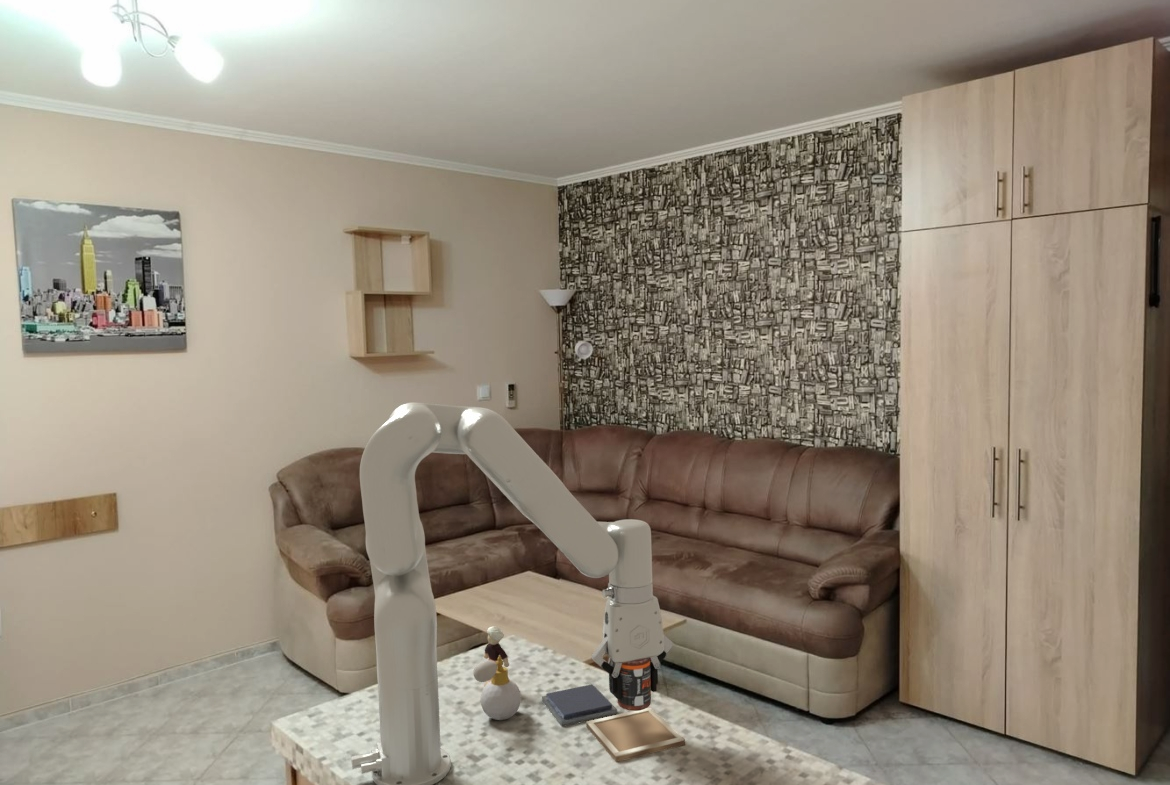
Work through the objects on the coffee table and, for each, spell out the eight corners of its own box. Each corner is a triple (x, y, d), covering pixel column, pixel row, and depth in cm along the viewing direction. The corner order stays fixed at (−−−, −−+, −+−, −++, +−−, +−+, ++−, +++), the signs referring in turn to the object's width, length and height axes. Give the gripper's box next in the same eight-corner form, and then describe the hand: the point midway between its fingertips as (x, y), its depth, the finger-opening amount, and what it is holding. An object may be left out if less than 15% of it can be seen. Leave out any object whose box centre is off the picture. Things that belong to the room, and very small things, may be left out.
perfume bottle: (526, 708, 149) (524, 647, 148) (511, 733, 140) (509, 668, 139) (488, 705, 151) (486, 645, 150) (471, 730, 141) (469, 665, 140)
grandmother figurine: (475, 687, 159) (473, 626, 158) (488, 680, 162) (486, 620, 161) (504, 696, 155) (502, 633, 154) (517, 689, 158) (515, 627, 157)
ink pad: (561, 726, 142) (561, 717, 142) (541, 701, 152) (541, 692, 152) (617, 714, 146) (616, 705, 146) (594, 690, 156) (593, 682, 156)
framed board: (616, 761, 129) (615, 756, 129) (586, 726, 141) (586, 721, 141) (685, 744, 134) (685, 739, 134) (650, 712, 146) (650, 707, 146)
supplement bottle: (649, 713, 134) (647, 649, 133) (614, 711, 135) (612, 647, 134) (653, 697, 140) (651, 635, 139) (620, 695, 141) (618, 634, 140)
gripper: (593, 606, 130) (597, 711, 131) (685, 590, 136) (687, 691, 137) (577, 593, 136) (580, 693, 138) (664, 578, 143) (667, 675, 144)
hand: (634, 691), depth 137 cm, fingers closed on supplement bottle, 6 cm apart
